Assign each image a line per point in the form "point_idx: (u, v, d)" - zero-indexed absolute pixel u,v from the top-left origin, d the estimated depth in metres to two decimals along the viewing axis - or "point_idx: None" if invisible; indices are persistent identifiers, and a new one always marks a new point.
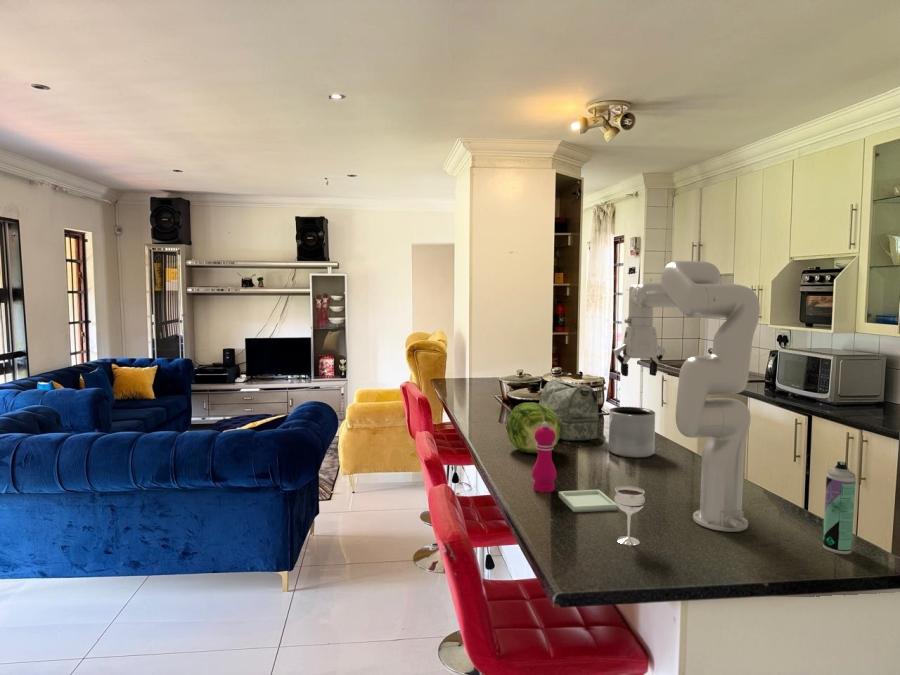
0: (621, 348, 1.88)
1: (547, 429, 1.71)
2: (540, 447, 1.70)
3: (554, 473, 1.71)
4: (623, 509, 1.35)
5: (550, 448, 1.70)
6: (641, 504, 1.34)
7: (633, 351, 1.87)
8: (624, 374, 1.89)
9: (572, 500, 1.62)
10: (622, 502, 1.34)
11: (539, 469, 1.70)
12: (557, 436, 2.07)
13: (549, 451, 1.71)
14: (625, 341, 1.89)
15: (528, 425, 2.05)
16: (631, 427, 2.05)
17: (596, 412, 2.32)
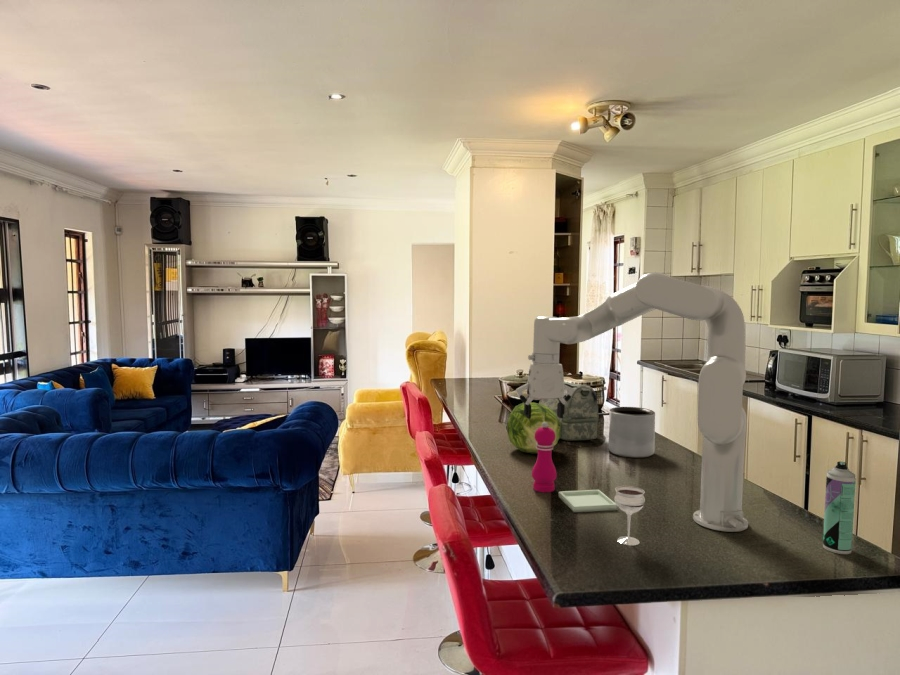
0: (524, 387, 1.70)
1: (547, 429, 1.71)
2: (540, 447, 1.70)
3: (554, 473, 1.71)
4: (623, 509, 1.35)
5: (550, 448, 1.70)
6: (641, 504, 1.34)
7: (536, 391, 1.68)
8: (527, 416, 1.71)
9: (572, 500, 1.62)
10: (622, 502, 1.34)
11: (539, 469, 1.70)
12: (557, 436, 2.07)
13: (549, 451, 1.71)
14: (528, 379, 1.70)
15: (528, 425, 2.05)
16: (631, 427, 2.05)
17: (596, 412, 2.32)
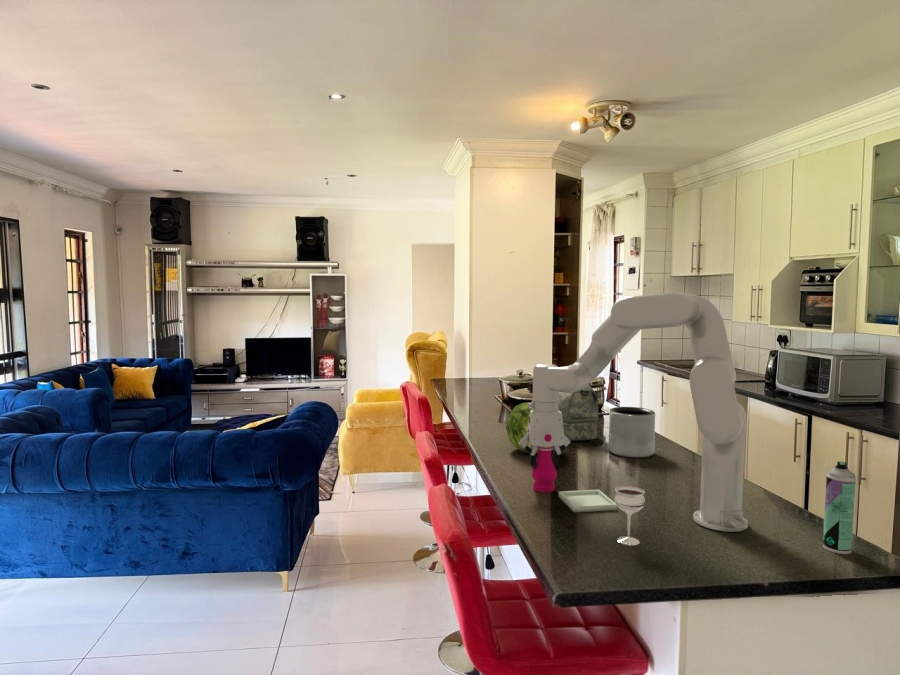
0: (526, 438, 1.71)
1: None
2: (540, 447, 1.70)
3: (554, 473, 1.71)
4: (623, 509, 1.35)
5: (550, 448, 1.70)
6: (641, 504, 1.34)
7: (536, 439, 1.69)
8: (533, 466, 1.72)
9: (572, 500, 1.62)
10: (622, 502, 1.34)
11: (539, 469, 1.70)
12: None
13: (549, 451, 1.71)
14: (528, 427, 1.71)
15: None
16: (631, 427, 2.05)
17: (596, 412, 2.32)
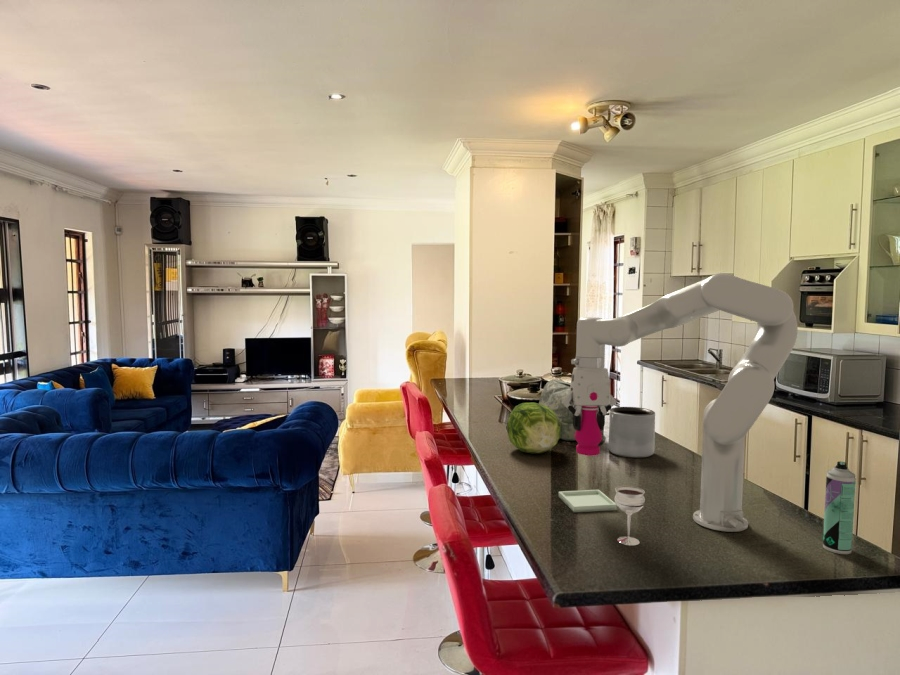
0: (569, 397, 1.58)
1: None
2: (585, 407, 1.58)
3: (600, 435, 1.58)
4: (623, 509, 1.35)
5: (595, 408, 1.58)
6: (641, 504, 1.34)
7: (581, 397, 1.56)
8: (576, 428, 1.59)
9: (572, 500, 1.62)
10: (622, 502, 1.34)
11: (584, 430, 1.58)
12: (557, 436, 2.07)
13: (594, 411, 1.58)
14: (572, 385, 1.58)
15: (528, 425, 2.05)
16: (631, 427, 2.05)
17: None
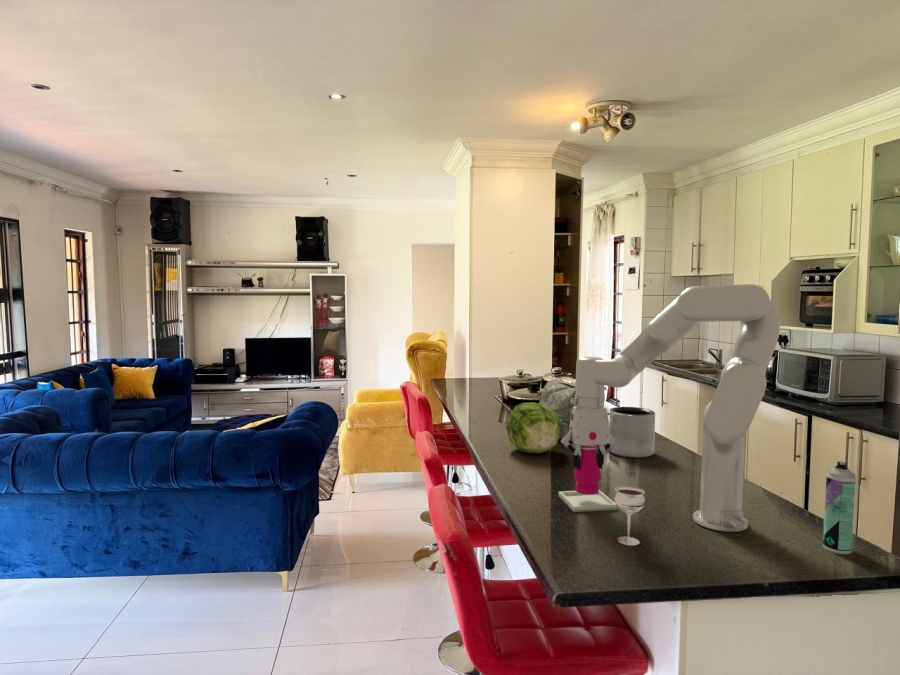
0: (568, 436, 1.59)
1: None
2: (584, 446, 1.59)
3: (599, 474, 1.59)
4: (623, 509, 1.35)
5: (595, 447, 1.59)
6: (641, 504, 1.34)
7: (580, 437, 1.57)
8: (576, 467, 1.60)
9: (572, 500, 1.62)
10: (622, 502, 1.34)
11: (583, 469, 1.58)
12: (557, 436, 2.07)
13: (593, 450, 1.59)
14: (571, 425, 1.59)
15: (528, 425, 2.05)
16: (631, 427, 2.05)
17: None
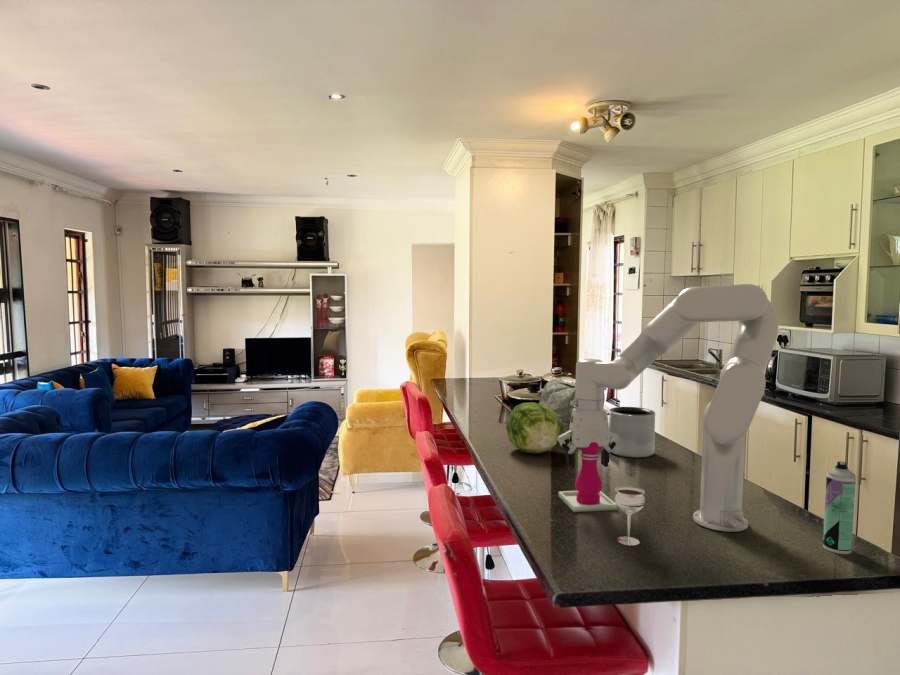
0: (566, 435, 1.59)
1: None
2: (585, 456, 1.59)
3: (600, 484, 1.59)
4: (623, 509, 1.35)
5: (596, 457, 1.59)
6: (641, 504, 1.34)
7: (580, 439, 1.57)
8: (570, 465, 1.60)
9: (572, 500, 1.62)
10: (622, 502, 1.34)
11: (584, 479, 1.59)
12: (557, 436, 2.07)
13: (594, 461, 1.59)
14: (571, 427, 1.59)
15: (528, 425, 2.05)
16: (631, 427, 2.05)
17: None
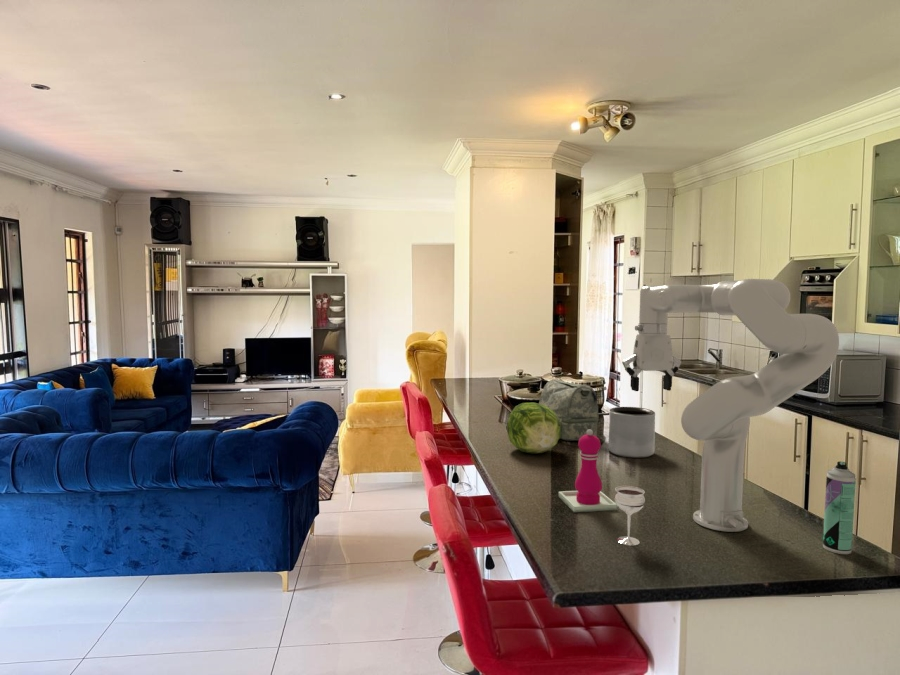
0: (631, 359, 1.64)
1: (592, 437, 1.59)
2: (585, 456, 1.59)
3: (600, 484, 1.59)
4: (623, 509, 1.35)
5: (595, 457, 1.59)
6: (641, 504, 1.34)
7: (645, 362, 1.63)
8: (634, 389, 1.65)
9: (572, 500, 1.62)
10: (622, 502, 1.34)
11: (584, 479, 1.59)
12: (557, 436, 2.07)
13: (594, 460, 1.59)
14: (635, 351, 1.65)
15: (528, 425, 2.05)
16: (631, 427, 2.05)
17: (596, 412, 2.32)
